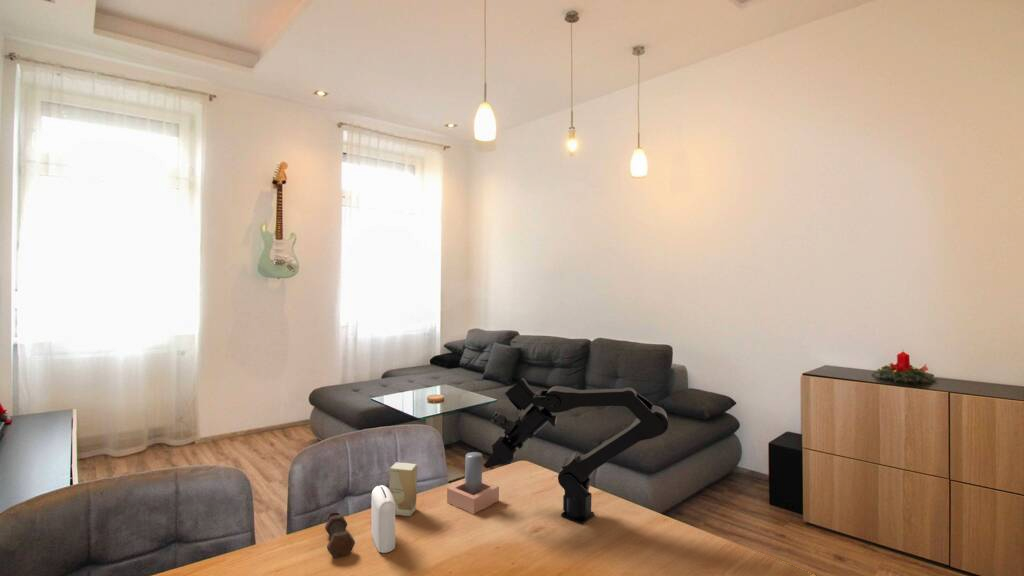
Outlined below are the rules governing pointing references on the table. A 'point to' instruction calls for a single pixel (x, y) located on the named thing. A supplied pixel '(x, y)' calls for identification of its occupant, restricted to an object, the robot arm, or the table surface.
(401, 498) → the skincare box
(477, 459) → the grey dome-topped post
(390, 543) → the photo printer
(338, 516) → the bolt
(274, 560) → the table surface
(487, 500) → the tray
